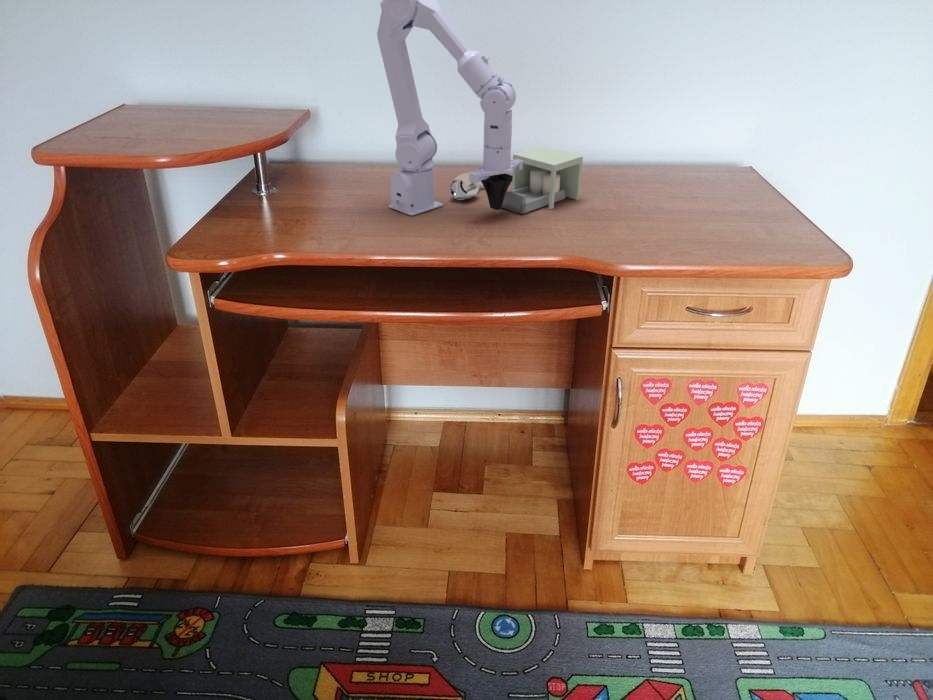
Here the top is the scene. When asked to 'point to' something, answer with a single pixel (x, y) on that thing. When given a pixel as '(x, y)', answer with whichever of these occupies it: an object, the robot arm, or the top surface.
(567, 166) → the block
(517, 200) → the tray
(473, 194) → the wineglass
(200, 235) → the top surface
